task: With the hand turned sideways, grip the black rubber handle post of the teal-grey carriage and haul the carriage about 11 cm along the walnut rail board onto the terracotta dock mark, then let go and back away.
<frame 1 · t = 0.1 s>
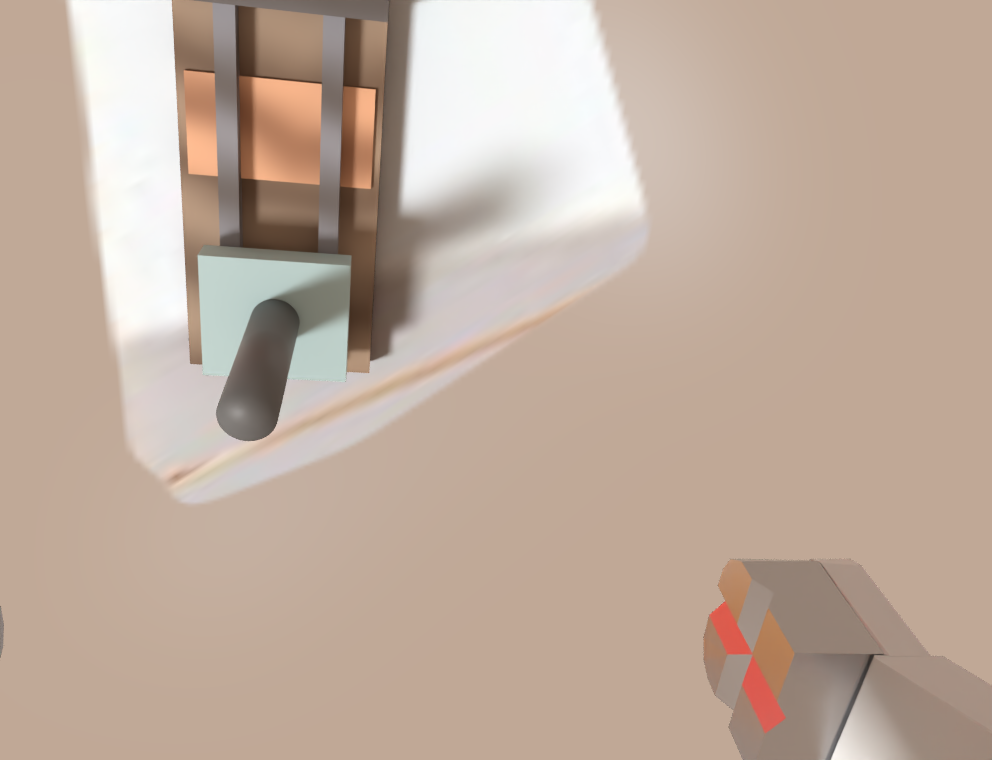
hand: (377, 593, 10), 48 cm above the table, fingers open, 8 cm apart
carriage: (264, 355, 49), point 10 cm above the table, slide at 0.0 cm
rail board: (284, 174, 54), on the table
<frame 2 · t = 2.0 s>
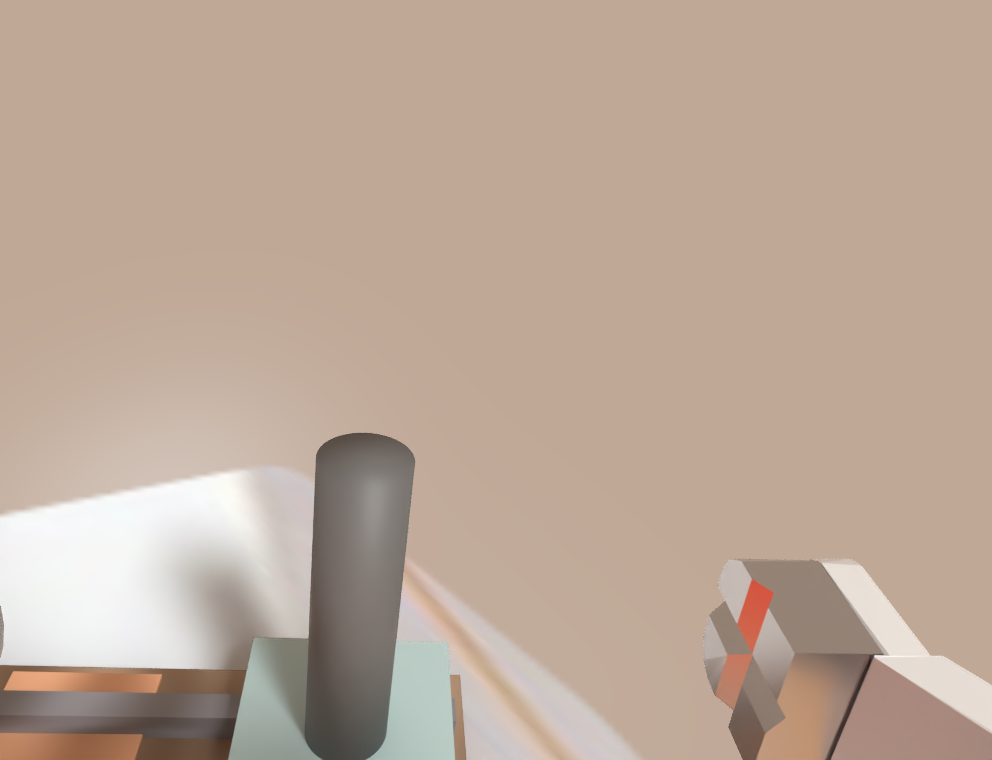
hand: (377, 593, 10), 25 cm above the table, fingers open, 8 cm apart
carriage: (353, 629, 29), point 10 cm above the table, slide at 0.0 cm
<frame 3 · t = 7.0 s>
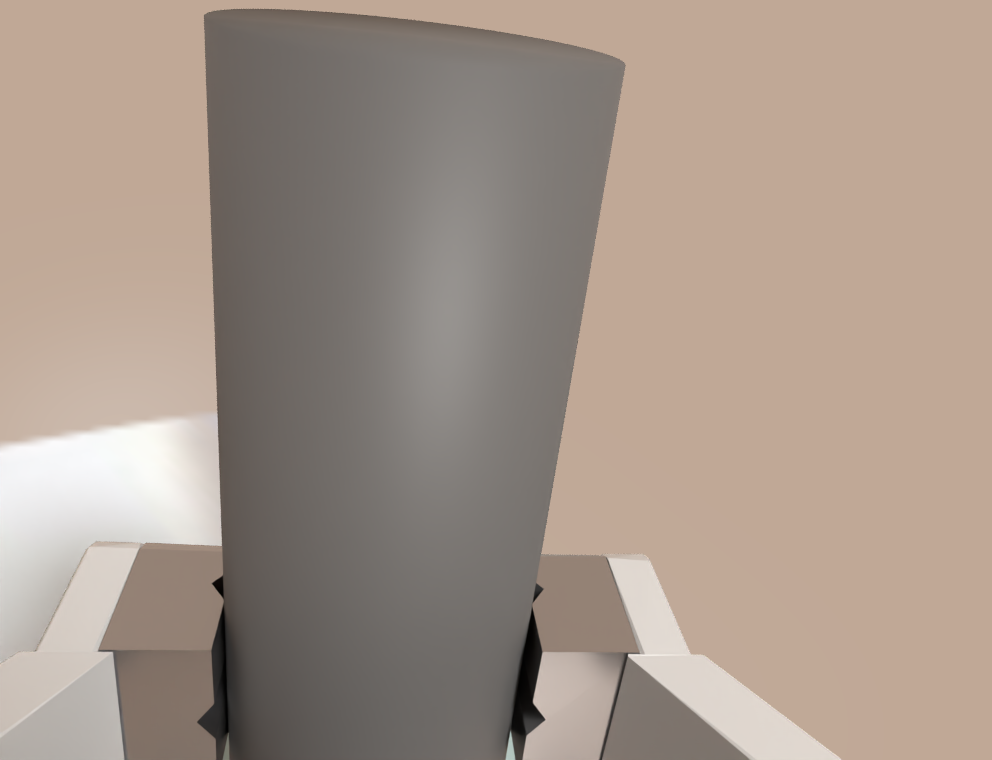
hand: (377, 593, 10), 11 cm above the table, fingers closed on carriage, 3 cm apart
carriage: (372, 720, 9), point 10 cm above the table, slide at 0.0 cm, touching gripper
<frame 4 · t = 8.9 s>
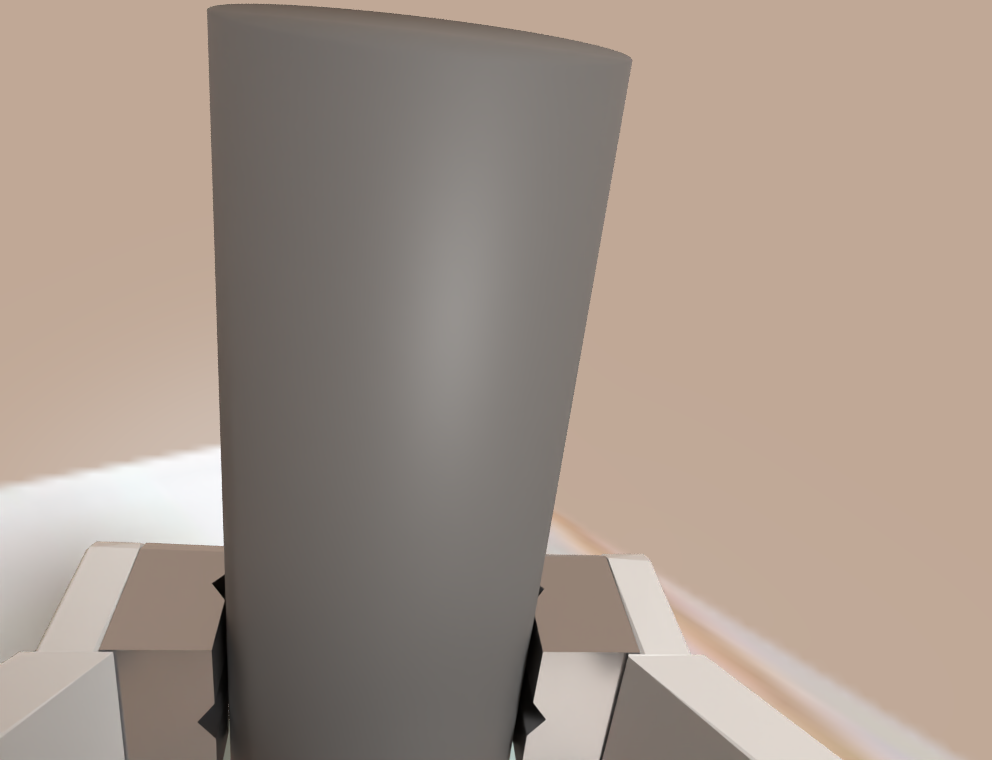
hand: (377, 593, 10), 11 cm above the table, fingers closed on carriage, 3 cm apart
carriage: (374, 722, 9), point 10 cm above the table, slide at 6.1 cm, touching gripper
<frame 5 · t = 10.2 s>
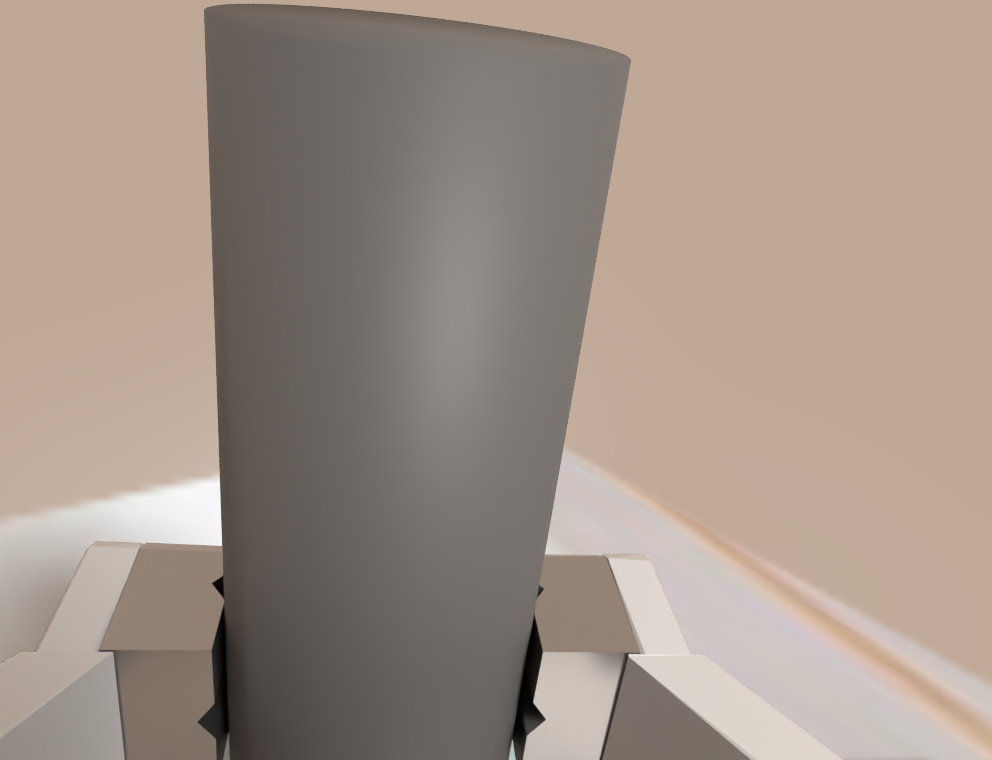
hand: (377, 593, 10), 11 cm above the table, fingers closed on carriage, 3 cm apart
carriage: (373, 723, 9), point 10 cm above the table, slide at 10.9 cm, touching gripper
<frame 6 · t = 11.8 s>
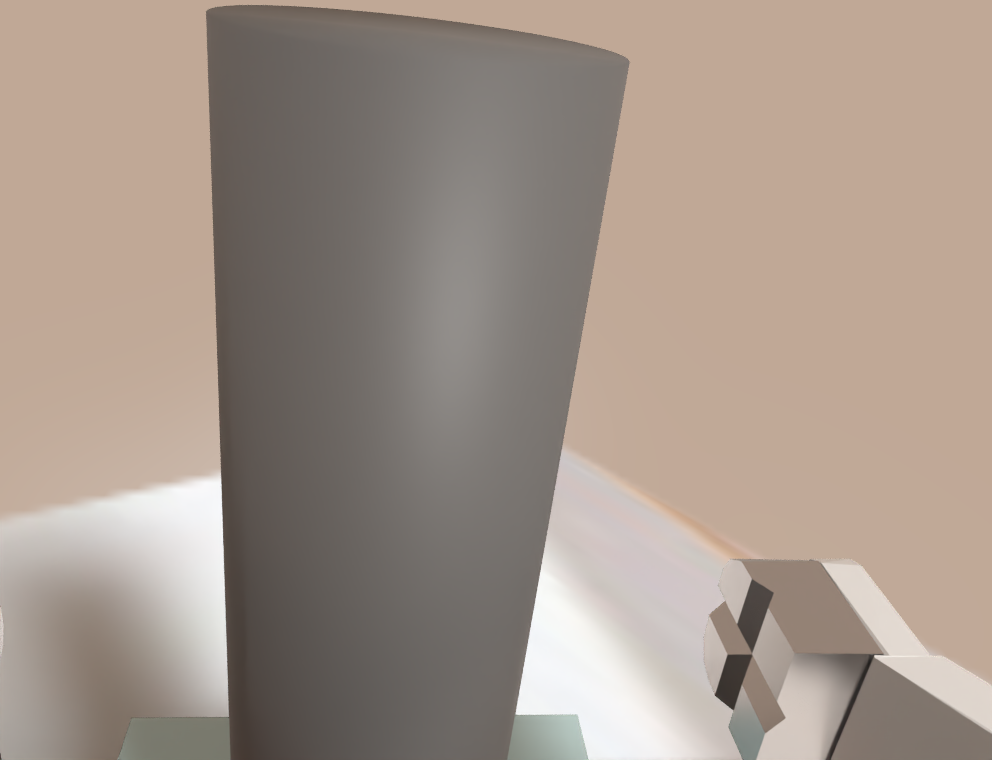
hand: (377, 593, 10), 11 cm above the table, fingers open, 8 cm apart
carriage: (373, 720, 9), point 10 cm above the table, slide at 11.0 cm
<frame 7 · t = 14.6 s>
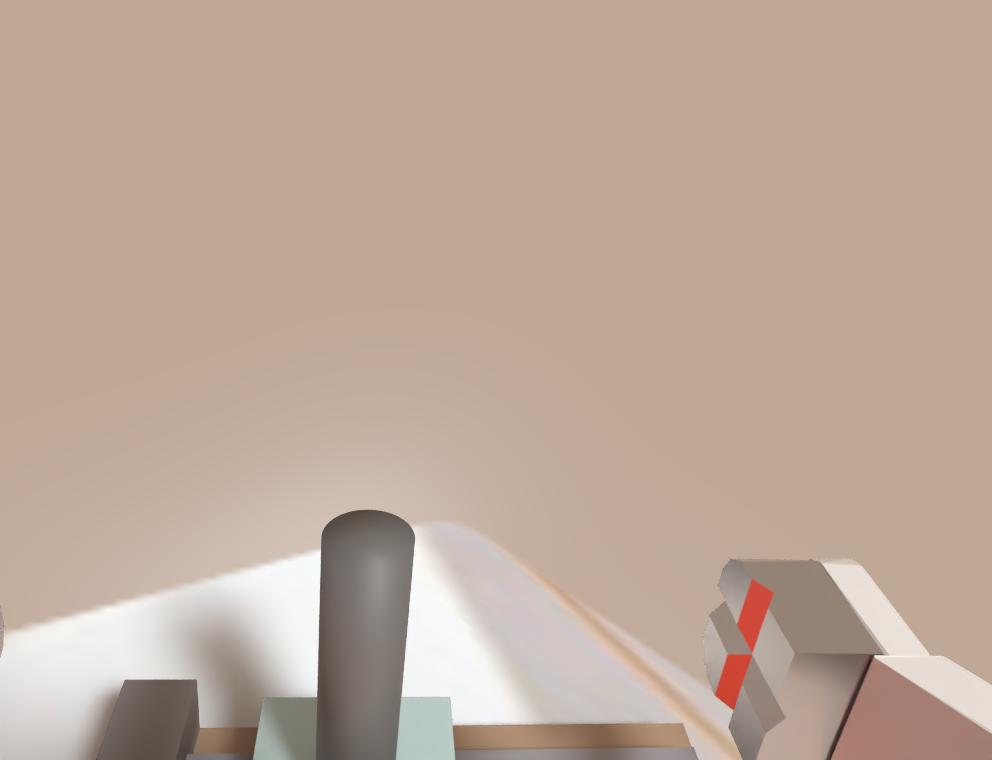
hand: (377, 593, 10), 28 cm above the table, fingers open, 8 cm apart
carriage: (359, 694, 31), point 10 cm above the table, slide at 11.0 cm
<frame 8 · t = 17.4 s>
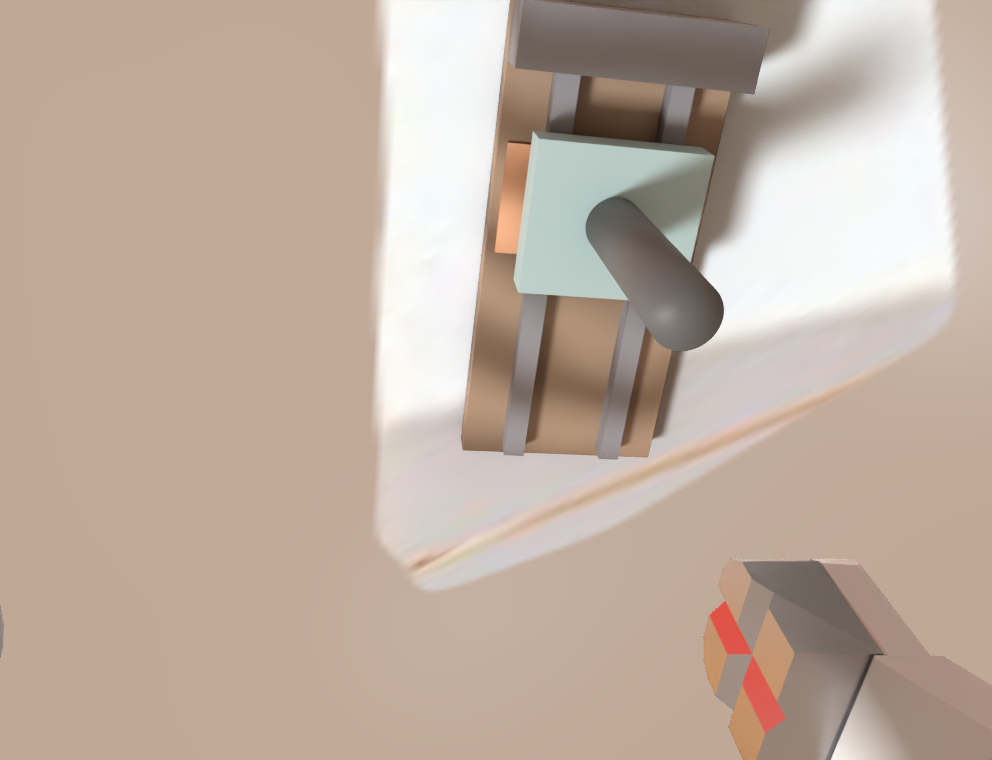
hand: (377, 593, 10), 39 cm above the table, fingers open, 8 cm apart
carriage: (639, 257, 39), point 10 cm above the table, slide at 11.0 cm
rail board: (585, 249, 50), on the table
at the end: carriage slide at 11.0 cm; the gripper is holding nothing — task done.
